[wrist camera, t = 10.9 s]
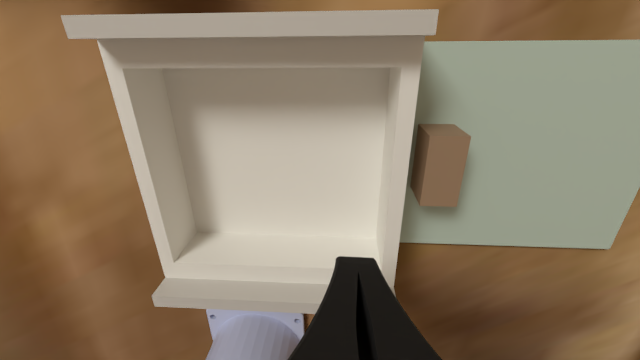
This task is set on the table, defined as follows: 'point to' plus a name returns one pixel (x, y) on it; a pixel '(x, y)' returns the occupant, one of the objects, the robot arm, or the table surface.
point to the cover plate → (524, 143)
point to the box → (265, 144)
